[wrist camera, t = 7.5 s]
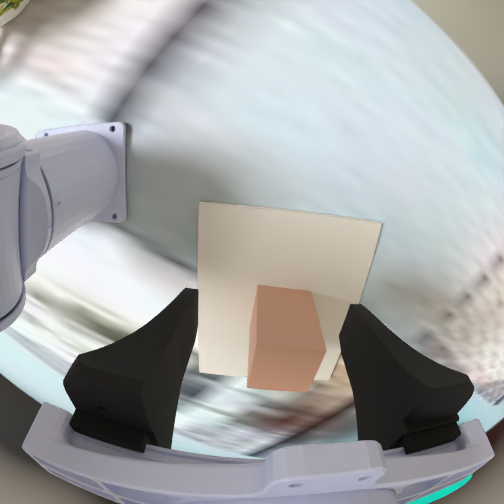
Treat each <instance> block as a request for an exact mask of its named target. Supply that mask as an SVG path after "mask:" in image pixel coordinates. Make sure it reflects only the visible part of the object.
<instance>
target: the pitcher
mask: <svg viewBox="0 0 504 504" xmlns="http://www.w3.org/2000/svg"><path fill="white" fill-rule="evenodd" d="M29 2H30V0H0V27H1V26H2V25H4V24H6V23H7V22H9V21H11V20H13V19H14V18H15V17H17V16H18V15H19V14H20V13H21V12H22V11H23V9H24V8H25V7H26V6H27V5H28V3H29Z"/></svg>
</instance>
